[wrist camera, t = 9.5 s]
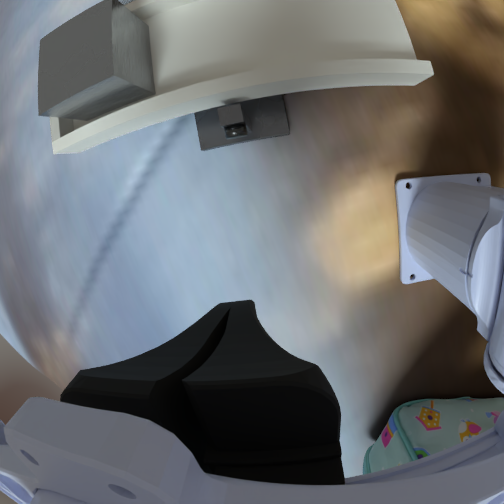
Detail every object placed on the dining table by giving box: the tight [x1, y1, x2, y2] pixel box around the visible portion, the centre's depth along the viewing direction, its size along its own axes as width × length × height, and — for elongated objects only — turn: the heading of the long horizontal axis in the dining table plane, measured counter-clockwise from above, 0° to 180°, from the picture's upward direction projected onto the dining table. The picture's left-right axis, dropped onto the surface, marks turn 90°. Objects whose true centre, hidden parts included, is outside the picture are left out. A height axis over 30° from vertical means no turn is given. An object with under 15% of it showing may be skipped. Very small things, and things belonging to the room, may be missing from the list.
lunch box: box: [363, 397, 504, 475], centre depth 15 cm, size 27×10×21 cm, turn 77°
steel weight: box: [38, 0, 156, 121], centre depth 12 cm, size 5×5×4 cm
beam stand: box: [194, 94, 290, 151], centre depth 15 cm, size 6×12×6 cm, turn 10°
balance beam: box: [50, 0, 434, 154], centre depth 13 cm, size 22×8×3 cm, turn 101°
